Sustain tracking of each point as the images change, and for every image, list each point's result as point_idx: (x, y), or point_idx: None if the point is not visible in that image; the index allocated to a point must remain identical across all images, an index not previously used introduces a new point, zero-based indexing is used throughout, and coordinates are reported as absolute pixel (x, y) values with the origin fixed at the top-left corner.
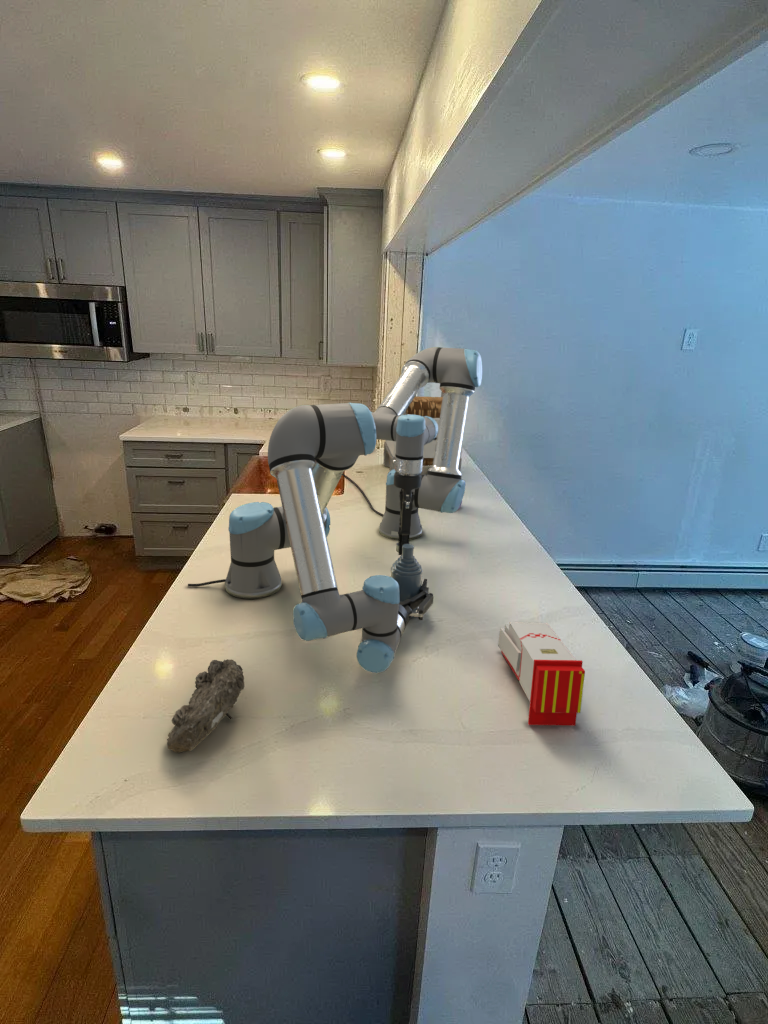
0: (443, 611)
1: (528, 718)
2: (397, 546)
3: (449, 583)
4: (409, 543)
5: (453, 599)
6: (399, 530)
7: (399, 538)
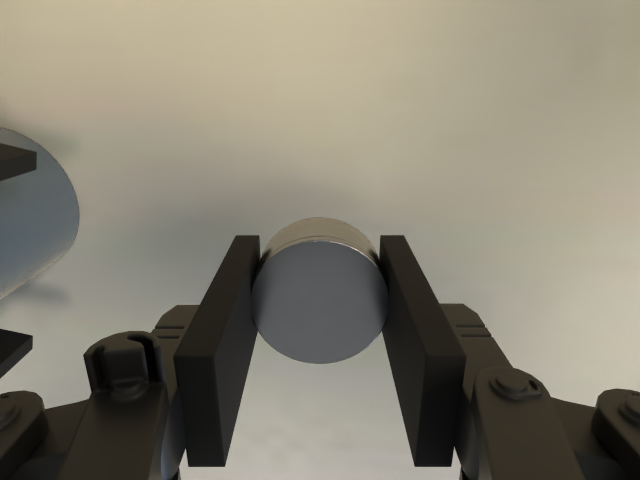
0: (51, 363)
1: None
2: (280, 246)
3: (314, 409)
4: (344, 357)
5: None
6: (416, 332)
7: (224, 309)
